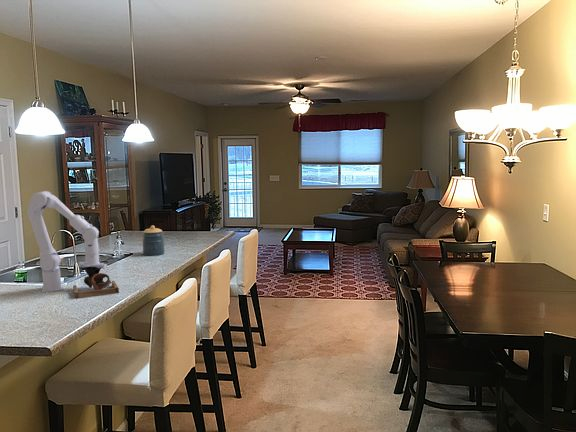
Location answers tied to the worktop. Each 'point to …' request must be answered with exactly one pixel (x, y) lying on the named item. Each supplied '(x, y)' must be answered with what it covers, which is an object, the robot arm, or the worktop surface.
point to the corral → (96, 291)
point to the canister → (153, 242)
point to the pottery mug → (97, 281)
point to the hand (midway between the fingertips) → (93, 283)
